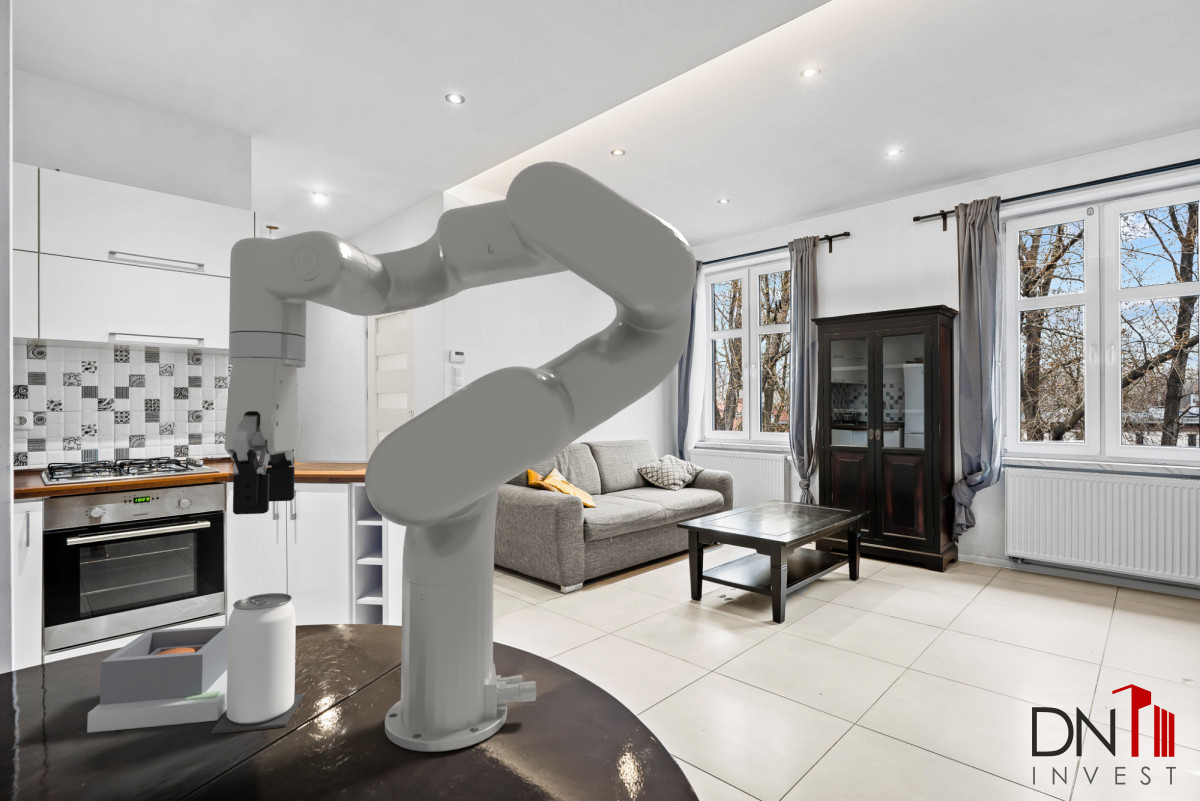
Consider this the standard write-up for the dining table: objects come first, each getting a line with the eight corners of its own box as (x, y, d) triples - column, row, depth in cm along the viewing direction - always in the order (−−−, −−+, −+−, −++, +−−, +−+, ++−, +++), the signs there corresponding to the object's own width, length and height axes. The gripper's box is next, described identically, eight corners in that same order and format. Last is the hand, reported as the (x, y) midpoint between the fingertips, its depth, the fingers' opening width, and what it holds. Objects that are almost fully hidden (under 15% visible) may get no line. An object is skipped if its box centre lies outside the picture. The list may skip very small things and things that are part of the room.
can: (238, 733, 61) (240, 613, 61) (217, 712, 65) (220, 600, 66) (304, 710, 66) (305, 599, 66) (281, 692, 70) (282, 588, 70)
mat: (303, 696, 70) (303, 693, 70) (285, 726, 63) (285, 723, 63) (236, 702, 68) (236, 699, 68) (211, 734, 61) (211, 731, 61)
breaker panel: (258, 670, 77) (259, 619, 77) (217, 720, 64) (218, 658, 64) (152, 678, 74) (153, 625, 75) (87, 732, 62) (88, 668, 62)
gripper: (256, 359, 75) (254, 497, 74) (197, 342, 58) (194, 521, 57) (321, 360, 76) (320, 496, 76) (282, 344, 60) (280, 518, 59)
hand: (265, 506), depth 67 cm, fingers open, 9 cm apart
